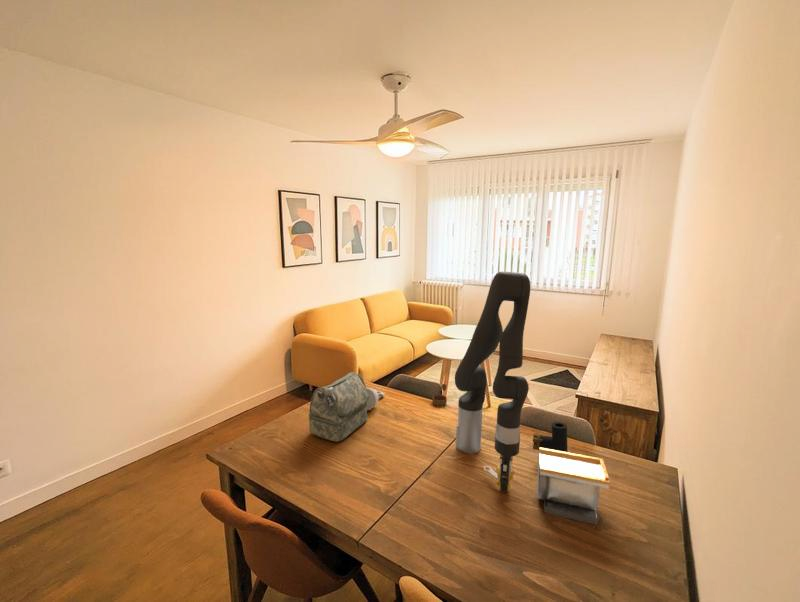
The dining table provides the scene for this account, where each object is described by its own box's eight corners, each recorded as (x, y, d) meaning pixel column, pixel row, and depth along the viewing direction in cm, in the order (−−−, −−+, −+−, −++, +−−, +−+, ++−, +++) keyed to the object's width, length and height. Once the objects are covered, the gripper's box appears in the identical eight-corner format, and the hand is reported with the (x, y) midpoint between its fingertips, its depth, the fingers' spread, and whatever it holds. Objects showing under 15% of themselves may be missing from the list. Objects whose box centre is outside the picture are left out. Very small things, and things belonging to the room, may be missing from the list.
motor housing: (537, 511, 110) (540, 466, 108) (536, 486, 121) (539, 445, 119) (604, 526, 104) (609, 480, 102) (597, 499, 115) (602, 457, 113)
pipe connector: (533, 464, 134) (532, 425, 133) (534, 456, 139) (533, 419, 137) (567, 469, 129) (566, 429, 128) (567, 461, 134) (566, 422, 133)
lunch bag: (338, 447, 143) (337, 394, 140) (302, 435, 152) (301, 385, 148) (373, 419, 166) (373, 373, 163) (341, 410, 174) (340, 366, 171)
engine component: (354, 409, 173) (355, 387, 174) (365, 401, 193) (366, 382, 194) (376, 411, 171) (377, 389, 172) (385, 403, 191) (386, 383, 192)
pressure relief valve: (503, 498, 115) (504, 468, 114) (478, 476, 126) (479, 449, 124) (516, 492, 118) (517, 464, 116) (490, 472, 128) (492, 445, 127)
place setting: (417, 404, 183) (418, 393, 182) (442, 393, 197) (442, 383, 196) (445, 416, 171) (446, 404, 170) (469, 403, 185) (470, 392, 184)
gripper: (497, 424, 124) (494, 468, 126) (493, 445, 110) (490, 494, 113) (520, 428, 121) (517, 473, 124) (519, 450, 108) (516, 500, 110)
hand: (504, 483), depth 118 cm, fingers open, 8 cm apart
